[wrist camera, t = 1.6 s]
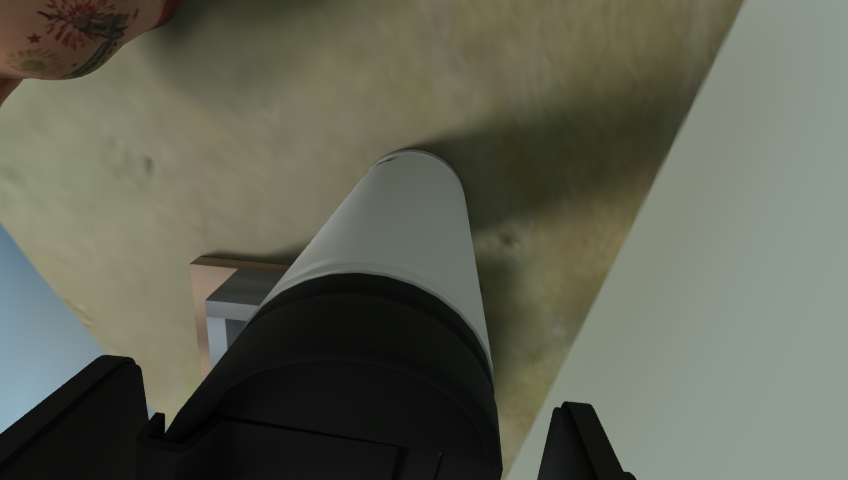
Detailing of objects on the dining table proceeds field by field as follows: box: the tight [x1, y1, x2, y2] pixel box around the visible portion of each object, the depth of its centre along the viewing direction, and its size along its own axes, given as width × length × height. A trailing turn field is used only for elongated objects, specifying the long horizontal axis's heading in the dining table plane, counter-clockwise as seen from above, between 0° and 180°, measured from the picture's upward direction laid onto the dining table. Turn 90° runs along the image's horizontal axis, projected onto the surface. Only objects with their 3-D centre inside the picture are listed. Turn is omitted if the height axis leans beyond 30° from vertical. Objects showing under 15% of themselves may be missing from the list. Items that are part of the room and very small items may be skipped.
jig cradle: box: [190, 257, 483, 382], centre depth 28 cm, size 12×18×5 cm, turn 85°
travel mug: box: [134, 149, 503, 480], centre depth 17 cm, size 6×7×20 cm
